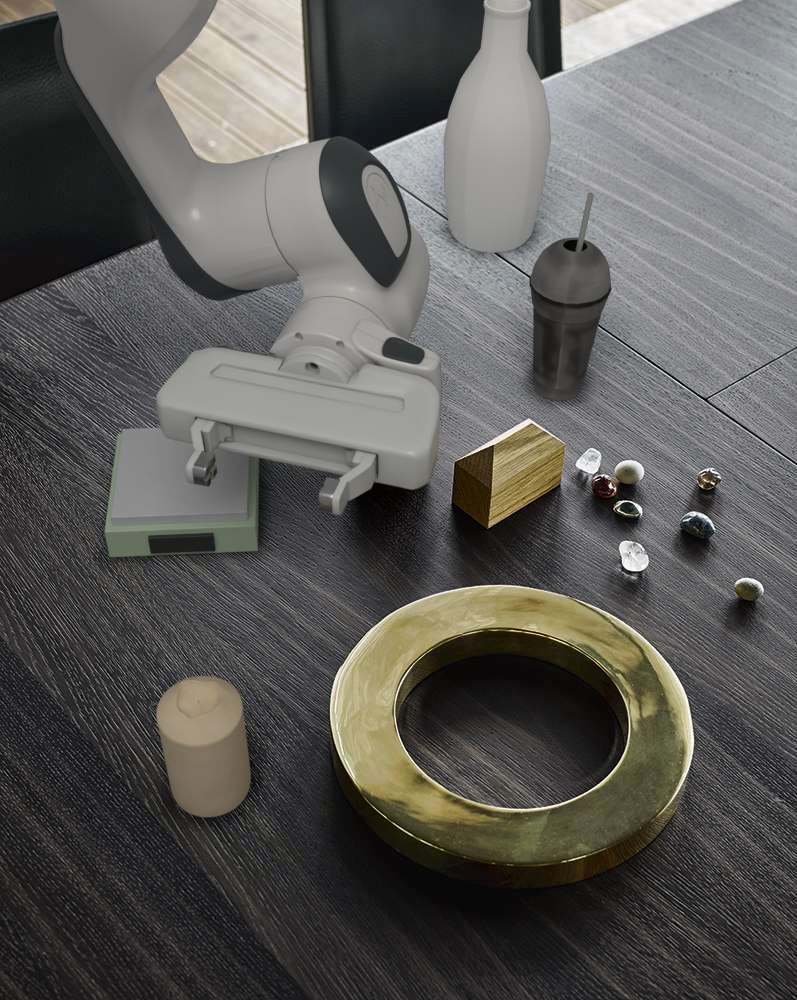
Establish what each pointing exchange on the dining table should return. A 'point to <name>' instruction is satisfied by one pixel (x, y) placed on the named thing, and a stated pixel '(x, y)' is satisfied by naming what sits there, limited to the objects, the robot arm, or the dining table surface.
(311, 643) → the dining table surface
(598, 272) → the beverage cup
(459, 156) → the bottle
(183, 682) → the candle
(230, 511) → the scale
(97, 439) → the dining table surface
